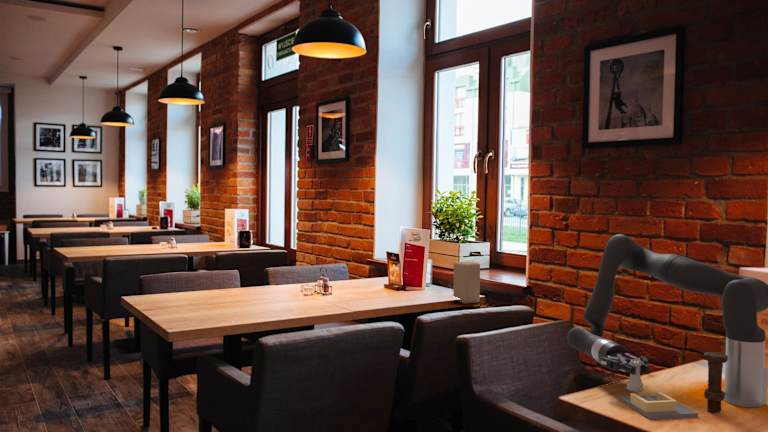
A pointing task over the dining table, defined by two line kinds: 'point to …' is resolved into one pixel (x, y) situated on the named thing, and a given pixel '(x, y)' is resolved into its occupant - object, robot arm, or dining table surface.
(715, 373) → the bolt
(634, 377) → the rook chess piece
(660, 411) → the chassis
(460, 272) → the block
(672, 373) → the dining table surface
